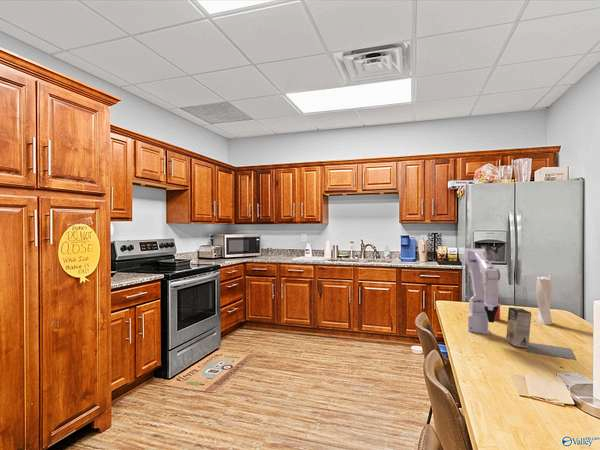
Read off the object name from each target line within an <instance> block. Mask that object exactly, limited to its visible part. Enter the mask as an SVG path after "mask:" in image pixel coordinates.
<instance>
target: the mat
mask: <svg viewBox="0 0 600 450" xmlns="http://www.w3.org/2000/svg"><path fill="white" fill-rule="evenodd" d="M525 348H526V347H525ZM526 352H527V353H531V354H536V355H537V354H538V355H544V356H549V357H550V356H551V357H555V358H563V359H569V360H575V361H576V360H577V358H576V355H575V354H574V352H573V350H572V348H569V347H564V346H556V345H549V344H543V343H538V342H537V343H536V342H530V341H529V347H528V348H526Z"/></svg>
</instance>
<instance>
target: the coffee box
mask: <svg viewBox="0 0 600 450" xmlns="http://www.w3.org/2000/svg"><path fill="white" fill-rule="evenodd" d="M531 321H532V312H530V311H529V310H526V309H524V308H518V307H508V314H507V325H506V339H505V341H506V342H507V343H509V344H511V345H512V346H515V347H519V348H520V347H521V348H528V347H529V342H530V333H531V323H532V322H531Z"/></svg>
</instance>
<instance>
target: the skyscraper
mask: <svg viewBox="0 0 600 450" xmlns="http://www.w3.org/2000/svg"><path fill="white" fill-rule="evenodd" d="M535 286H536V287H535V296H536V303H537V307H538V308H537V314H536V320H533V322H534V323H538V324H540V323H541V325H545V326H548V325H555V323H553V321H552V314H551V309H550V307H551V304H552V299H553V285H552V275H551V274H549V275H548V277H547V276H541V277H539V276H537V279H536V285H535Z"/></svg>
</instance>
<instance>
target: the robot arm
mask: <svg viewBox="0 0 600 450" xmlns="http://www.w3.org/2000/svg"><path fill="white" fill-rule="evenodd" d="M487 256H488V254H487V250H486V249H485V248H469V247H468V248H465V250H464V259H465V265H467V266H468V267H469V271H470V276H471V283H472V285H471V286H472V291H473V296H472V297H470V298H469V300H468V303H469V304H468V308H469V313H468V315H467V317H468V318H467V320H468V321H467V322H468V324H467V329H468V330H467V331H468V332H470V333H475V334H476V333H478V334H484V335H489V334H490V329H489V323H493V324H494V323H495V320H494V319H495V314H496V312H497V310H498V307H496V306H500V307H501V305H502V304H501V302H500V303H498V299H499V281H500V280H501V272H500V269H499V268H497V267H496V268H495V267H494V265H493V264H492V262H491V261H490V260H488V259H487ZM481 273H482V274H481ZM483 284H484V285H483Z"/></svg>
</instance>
